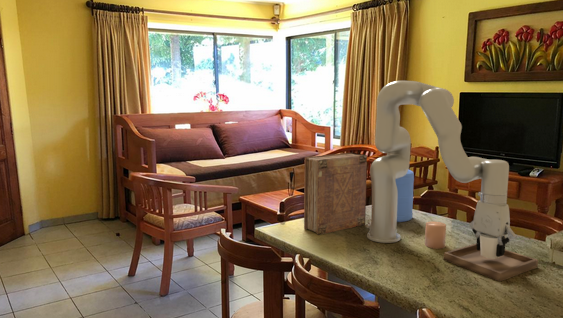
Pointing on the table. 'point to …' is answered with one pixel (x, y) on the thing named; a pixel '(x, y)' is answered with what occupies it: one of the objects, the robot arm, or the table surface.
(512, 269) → the walnut tray
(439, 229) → the peach rounded capsule
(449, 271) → the table surface
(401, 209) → the water jug
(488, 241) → the white tapered cup
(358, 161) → the book
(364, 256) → the table surface
